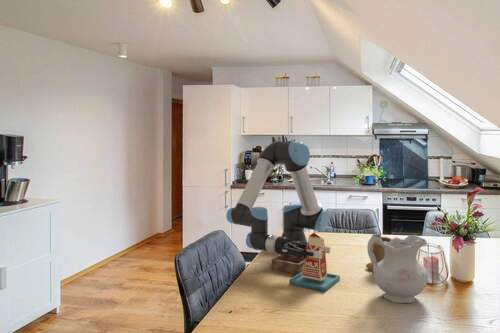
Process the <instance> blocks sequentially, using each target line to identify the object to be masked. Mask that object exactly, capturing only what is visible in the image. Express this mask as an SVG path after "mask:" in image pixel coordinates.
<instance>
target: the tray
mask: <svg viewBox="0 0 500 333" xmlns="http://www.w3.org/2000/svg"><path fill="white" fill-rule="evenodd" d="M301 274H302V272H300V273H299V274H295V275H294V276H293V277H291V278H290V279H289V280H288V283H289V285H291V286H295V287H298V288H299V287H300V288H304V289H309V290H314V291H318V292H322V293H326V292H327V291H329V289H331V288H332V287H333V286H335V285H336V284H337V283H339V282H340V280H341V276H340V275H339V274H334V273H330V272H329V273H328V272H327V276H326V277H325V278H324V279H323V280H322V281H320V280H315V279H309V278H304V277H301Z"/></svg>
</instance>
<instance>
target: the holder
mask: <svg viewBox="0 0 500 333" xmlns="http://www.w3.org/2000/svg"><path fill="white" fill-rule="evenodd" d="M304 261H305V258H304V256H303V257H298V256H294V255H290V254H279V255H277V256H275V257H273V258H271V260H270V262H271V264H270V266H271V268H270V269H271V270H274V271H280V272H285V273H291V274H294V275H297V274H299V273H300V272H302V270H303V266H304Z"/></svg>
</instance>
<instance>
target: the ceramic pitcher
mask: <svg viewBox="0 0 500 333" xmlns="http://www.w3.org/2000/svg"><path fill="white" fill-rule="evenodd" d="M381 237H382V234H380V233H378V234H377V233H374V234H373V235H371V237H370V238H369V239H368V242H367V245H366V246H367V255H368V257H369V261H370V263H371V262H372V264H373V270H372V273H373V275H374V280H375V283H376V285H377V287H378V288H379V289H380V290H381V291H382V292H384V293H383V294H382V296H383V297H384V299H385V300H386V301H390V302H393V303H395V304H412V303H413V304H415V303H417V302H419V301H420V300H419V299H418V298H417V297H416V296H418V295H420V294H421V293H422V292H423V291H424V290H425V288H426V287H427V283H428V280H429V278H428V271H427V269H426V268H425V267H424V266H423V265H422V264H421V263H420V262H419V261H418V260H417V254H418V251H419V250H420V249H421V248H422V247H424V246H427V245H428V242H427V239H425V238H423V236H422V237H420V236H419V235H417V234H410V235H408V236H407V237H405V238H399V237H398V236H396V237H394V238H391V239H392V240H391V241H390V242H386V241H384V242H383V241H382V239H381ZM375 243H379V244H380V245H381V246H382V247H383V248H384V250H385V256H384V259H383V260H381V261H380V262H379V263H377V262H376V258H375V255H374V253H373V245H374V244H375Z"/></svg>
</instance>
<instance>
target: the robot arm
mask: <svg viewBox="0 0 500 333" xmlns="http://www.w3.org/2000/svg"><path fill="white" fill-rule="evenodd" d="M310 154H311V153H310V149H309V146H308V145H307V144H306V143H305V142H304V141H303V142H302V141H298V140H292V141H286V140H285V141H283V140H282V141H280V140H276V141H273V142H272V143H269V144H268V145H267V146H266V147H265V148H264V149H263V150H262V151H261V153H260V154H259V155H258V158H257V159H256V163H257V164H256V165H255V167H254V170H253V171H252V173H251V176H250V177H249V180H248V181H247V183H246V185H245V186H244V189H243V191H242V193H241V195H240V197H239V198H238V201H237V202H236V205H235V206H234V207H230V208H229V209H228V210H227V211H226V216H225V218H226V221H227V222H229V223H230V224H233V225H238V226H244V227H249V228H250V230H251V231H250V232H248V233H247V235H246V239H245V245H246V246H247V247H248V248H249V249H253V250H255V251H256V250H257V251H263V252H268V253H273V254H279V255H281V254H290V255H294V256H298V257H303V256H304V258H306V255H307V256H309V257H314V258H320V259H322V252H320V251H314V250H308V249H307V251H306V247H307V243H308V239H307V238H306V234H305V229H306V230H312V231H314V230H315V231H318V232H319V231H320V232H323V231H325V229H326V228H327V227H328V224H329V220H330V213H329V211H328V210H327V209H323V206H322V204H321V203H320V202H319V201H318V199H317V196H316V194H315V191H314V187H313V183H312V181H311V177H310V175H309V172H308V169H307V168H308V167H307V166H308V164H309V161H310V158H311V157H310ZM277 165H284V167H285V170H286V172H288V173H290V176H291V179H292V181H293V184H294V188H295V190H296V195H297V196H298V199H299V203H291V204H289V203H288V204H286V205H284V206H283V210H282V211H283V212H282V219H283V220H282V222H283V223H282V224H283V226H282V227H283V228H282V230H283V231H282V233H281V236H278V235H274V234H273V233H272V234H268V232H269V231H268V228H269V227H268V226H269V225H268V223H269V222H268V220H269V216H268V209H267V207H263V206H254V205H255V202H256V200H257V199H258V197H259V195H260V192H261V190H262V189H263V186H264V184H265V182H266V180H267V178H268V176H269V175H270V173H271V171H273V170H274V169H275V167H276V166H277ZM325 252H326V254H331V246H328V245H327V246H325Z"/></svg>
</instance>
